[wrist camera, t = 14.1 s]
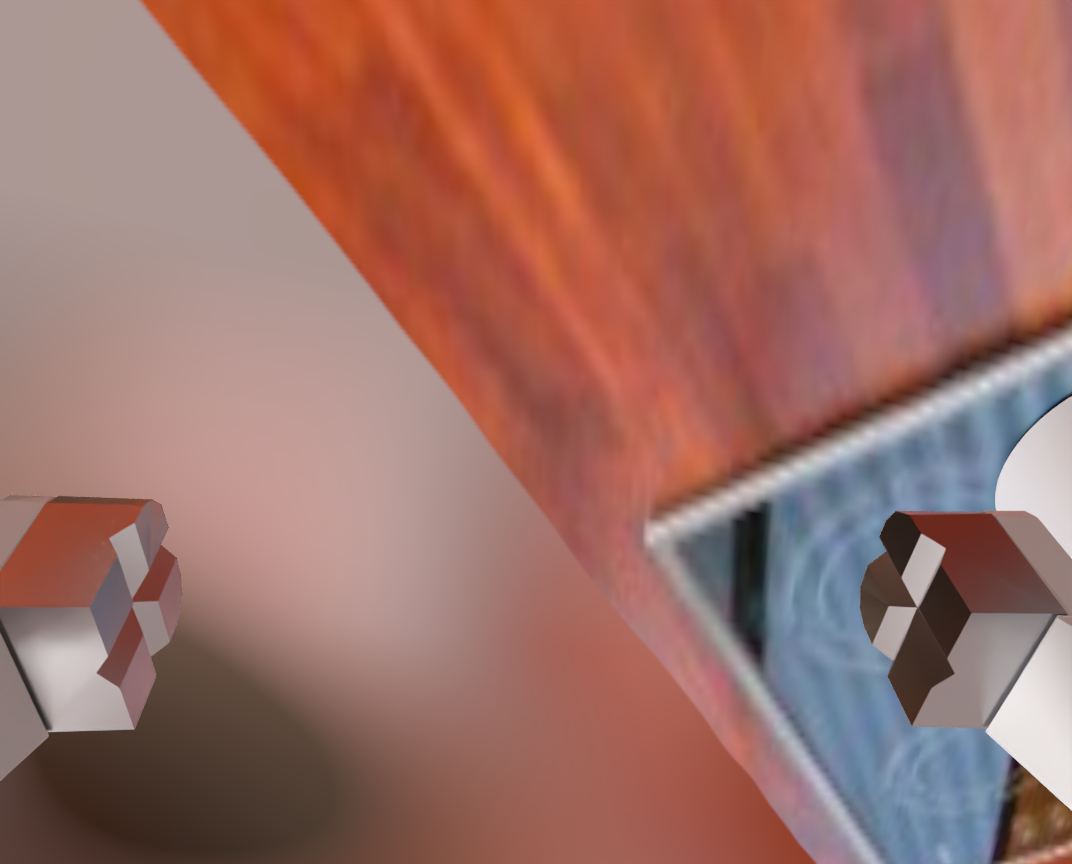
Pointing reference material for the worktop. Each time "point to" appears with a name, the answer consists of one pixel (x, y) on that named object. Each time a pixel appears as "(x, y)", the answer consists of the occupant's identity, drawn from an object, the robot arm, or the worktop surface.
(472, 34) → the worktop surface
